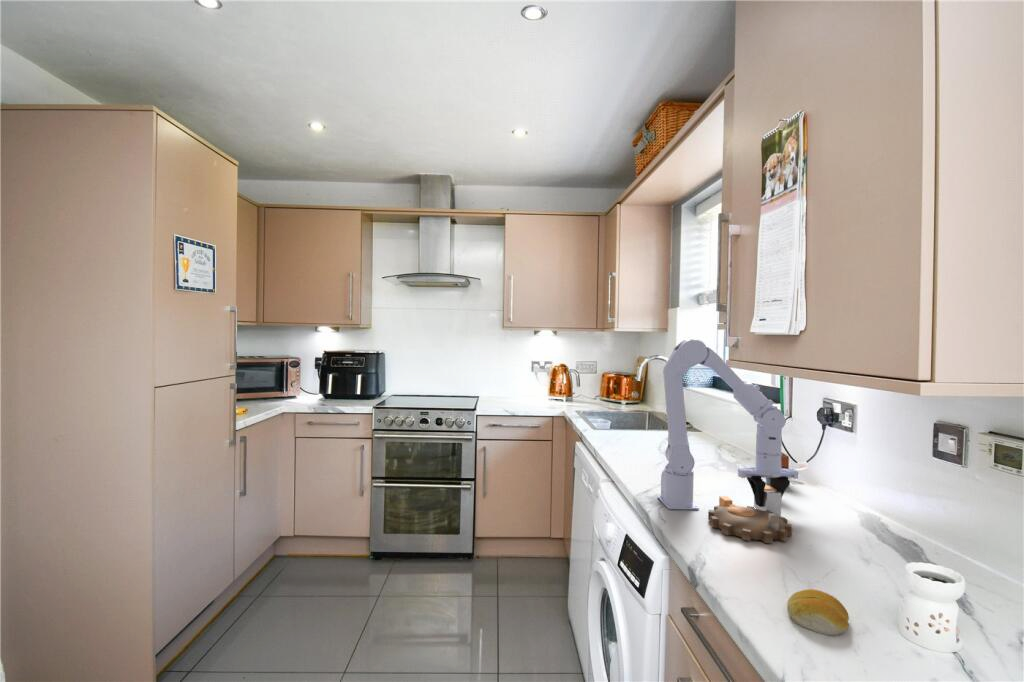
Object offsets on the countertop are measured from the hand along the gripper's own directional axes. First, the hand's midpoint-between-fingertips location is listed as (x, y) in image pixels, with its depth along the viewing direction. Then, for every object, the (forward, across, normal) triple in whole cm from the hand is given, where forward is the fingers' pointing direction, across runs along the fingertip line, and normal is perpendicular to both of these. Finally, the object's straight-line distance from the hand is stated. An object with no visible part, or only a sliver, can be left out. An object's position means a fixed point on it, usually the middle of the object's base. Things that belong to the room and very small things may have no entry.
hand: (767, 505), depth 121 cm
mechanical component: (+2, +9, +15) cm, 18 cm away
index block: (+2, -10, +2) cm, 10 cm away
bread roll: (+2, -17, -46) cm, 49 cm away
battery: (+2, +17, +25) cm, 30 cm away
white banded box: (+2, 0, 0) cm, 2 cm away
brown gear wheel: (+2, -10, -10) cm, 14 cm away
